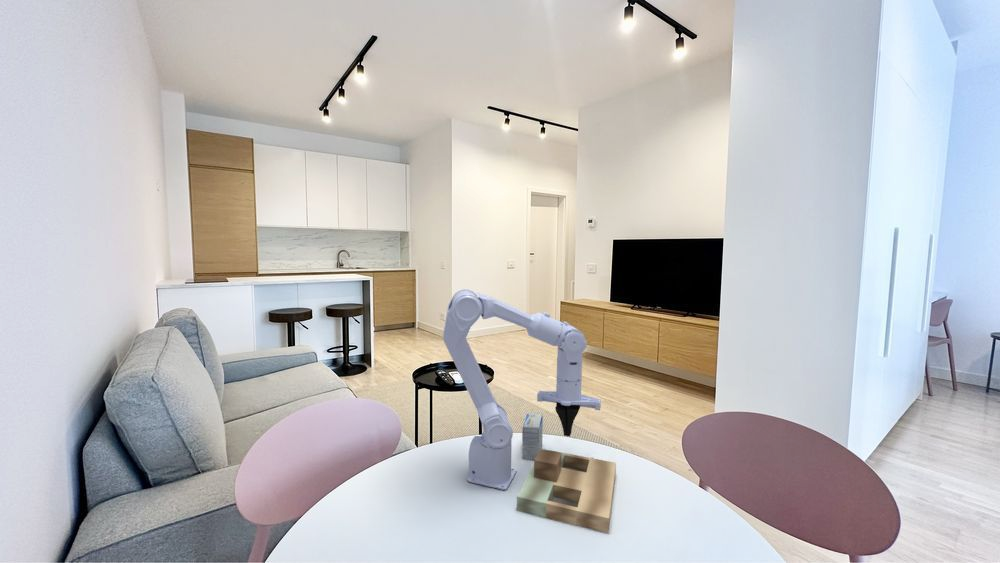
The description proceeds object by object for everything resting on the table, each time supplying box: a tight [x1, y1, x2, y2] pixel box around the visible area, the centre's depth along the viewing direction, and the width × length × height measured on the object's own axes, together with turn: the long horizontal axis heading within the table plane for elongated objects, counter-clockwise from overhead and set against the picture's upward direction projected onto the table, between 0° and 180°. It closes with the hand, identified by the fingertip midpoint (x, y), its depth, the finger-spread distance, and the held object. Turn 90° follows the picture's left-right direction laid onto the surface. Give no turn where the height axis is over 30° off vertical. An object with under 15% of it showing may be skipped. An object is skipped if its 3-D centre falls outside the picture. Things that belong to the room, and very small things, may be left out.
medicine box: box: [521, 413, 544, 461], centre depth 101 cm, size 8×4×9 cm, turn 168°
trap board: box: [516, 448, 617, 534], centre depth 85 cm, size 18×20×3 cm
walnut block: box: [533, 448, 563, 482], centre depth 87 cm, size 5×5×4 cm
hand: (567, 434), depth 92 cm, fingers closed
